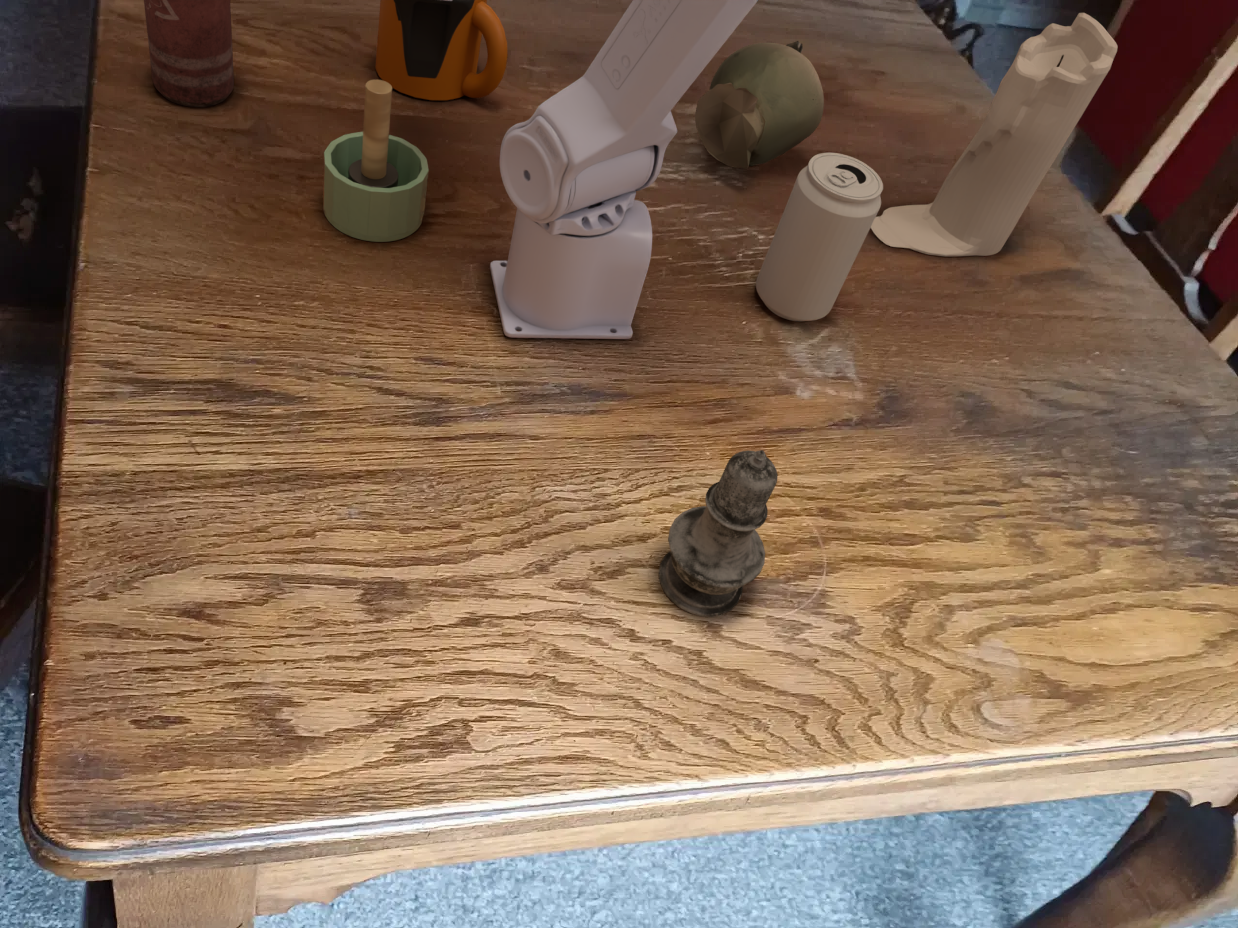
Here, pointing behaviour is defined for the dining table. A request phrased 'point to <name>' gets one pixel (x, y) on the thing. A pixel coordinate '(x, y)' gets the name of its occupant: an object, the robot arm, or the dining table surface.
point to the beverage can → (819, 236)
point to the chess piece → (720, 539)
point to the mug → (446, 56)
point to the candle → (1009, 145)
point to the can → (191, 50)
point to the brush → (375, 139)
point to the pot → (374, 191)
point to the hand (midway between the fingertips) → (416, 46)
